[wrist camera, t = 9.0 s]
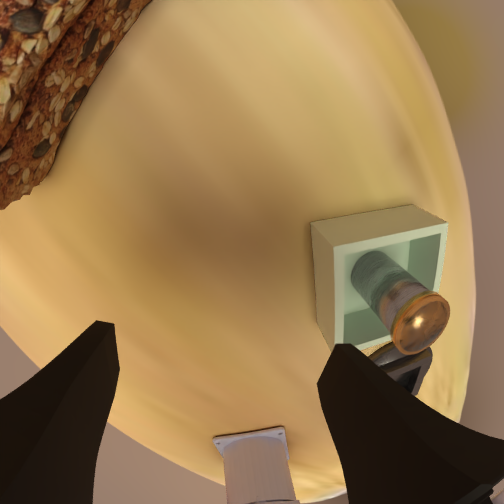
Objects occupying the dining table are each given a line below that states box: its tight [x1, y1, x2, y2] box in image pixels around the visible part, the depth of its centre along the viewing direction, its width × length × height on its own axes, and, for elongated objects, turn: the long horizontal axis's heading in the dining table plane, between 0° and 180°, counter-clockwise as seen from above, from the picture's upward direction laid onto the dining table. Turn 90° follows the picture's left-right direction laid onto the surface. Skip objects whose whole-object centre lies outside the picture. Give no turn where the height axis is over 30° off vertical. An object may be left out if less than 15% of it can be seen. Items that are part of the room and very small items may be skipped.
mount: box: [368, 342, 433, 396], centre depth 25 cm, size 10×10×2 cm
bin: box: [310, 205, 448, 353], centre depth 18 cm, size 8×8×4 cm
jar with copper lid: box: [351, 251, 450, 355], centre depth 17 cm, size 4×4×7 cm
